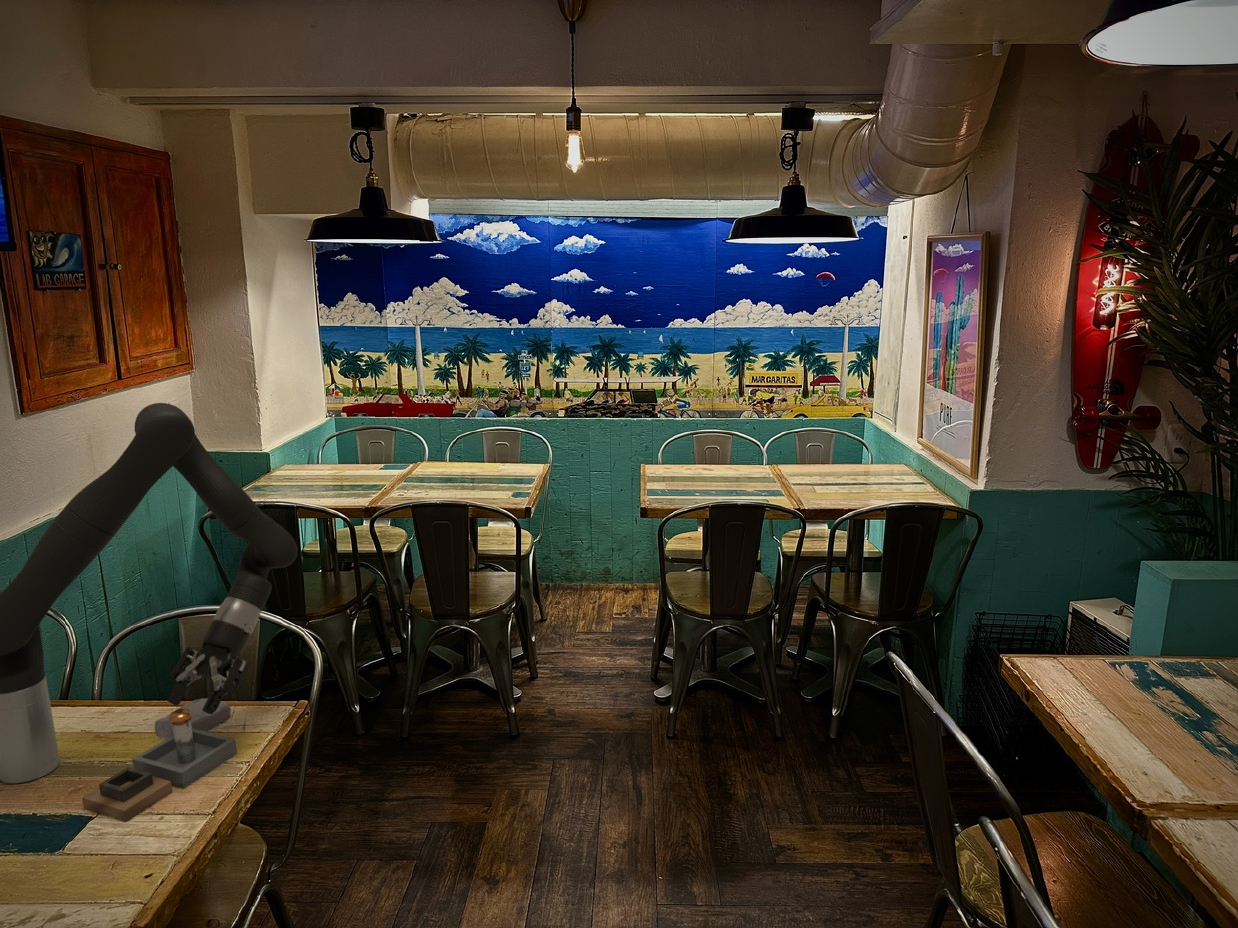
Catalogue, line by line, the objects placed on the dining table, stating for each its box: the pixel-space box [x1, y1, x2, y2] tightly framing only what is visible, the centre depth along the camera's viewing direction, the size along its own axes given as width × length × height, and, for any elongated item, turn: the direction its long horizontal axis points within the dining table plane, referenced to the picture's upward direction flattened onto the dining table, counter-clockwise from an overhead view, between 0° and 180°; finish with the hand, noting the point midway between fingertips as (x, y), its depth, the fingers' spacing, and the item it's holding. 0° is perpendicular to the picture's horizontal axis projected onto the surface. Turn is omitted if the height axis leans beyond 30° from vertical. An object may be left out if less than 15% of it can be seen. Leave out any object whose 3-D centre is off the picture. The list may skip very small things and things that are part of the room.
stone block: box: [154, 698, 232, 740], centre depth 173 cm, size 12×5×10 cm
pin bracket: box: [81, 766, 173, 822], centre depth 149 cm, size 10×9×4 cm
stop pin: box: [168, 708, 196, 764], centre depth 159 cm, size 4×4×9 cm
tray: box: [131, 728, 238, 789], centre depth 159 cm, size 12×12×3 cm
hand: (189, 708), depth 159 cm, fingers open, 8 cm apart
